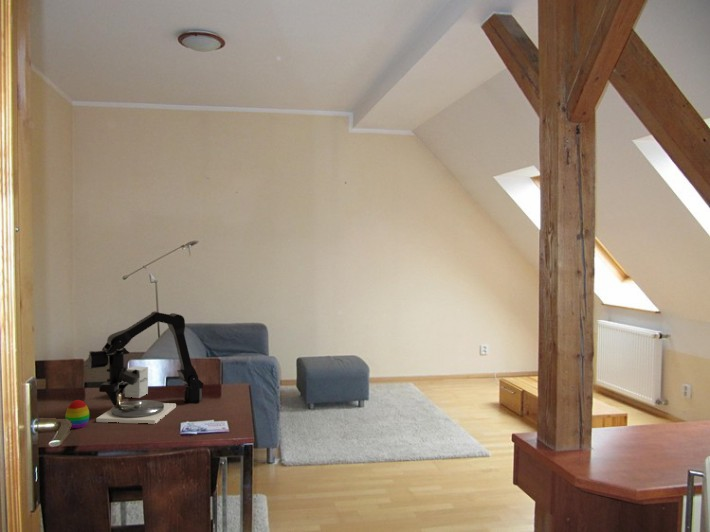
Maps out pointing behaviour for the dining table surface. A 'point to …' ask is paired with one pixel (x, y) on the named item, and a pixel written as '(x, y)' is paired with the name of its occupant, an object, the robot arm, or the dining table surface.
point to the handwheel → (136, 408)
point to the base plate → (145, 419)
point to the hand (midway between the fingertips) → (117, 403)
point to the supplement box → (138, 383)
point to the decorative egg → (77, 414)
